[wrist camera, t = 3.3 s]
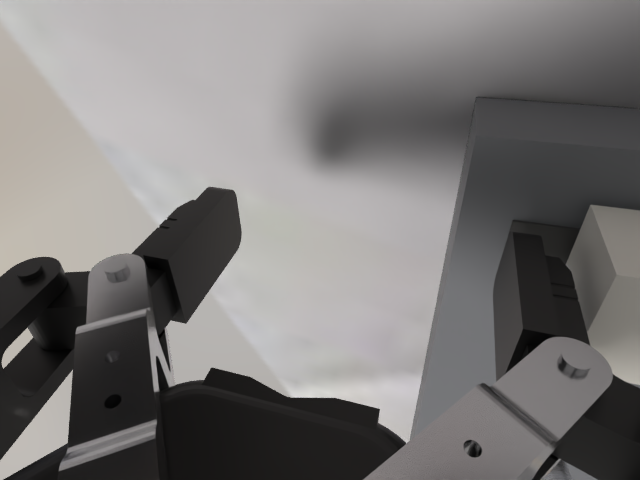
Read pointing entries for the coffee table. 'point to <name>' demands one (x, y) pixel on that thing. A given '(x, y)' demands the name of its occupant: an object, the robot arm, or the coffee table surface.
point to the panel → (518, 222)
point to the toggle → (559, 472)
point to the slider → (610, 285)
